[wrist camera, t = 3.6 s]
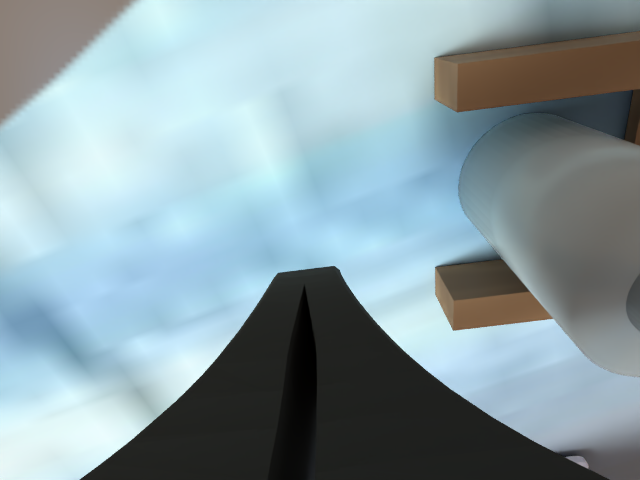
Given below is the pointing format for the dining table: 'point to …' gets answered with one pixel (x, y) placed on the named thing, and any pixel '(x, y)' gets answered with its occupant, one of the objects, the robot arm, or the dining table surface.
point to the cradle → (512, 89)
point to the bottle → (565, 226)
